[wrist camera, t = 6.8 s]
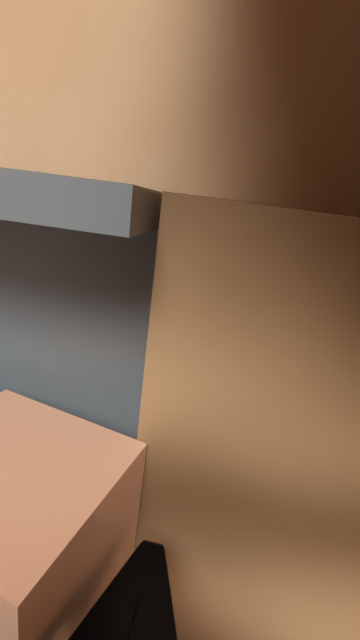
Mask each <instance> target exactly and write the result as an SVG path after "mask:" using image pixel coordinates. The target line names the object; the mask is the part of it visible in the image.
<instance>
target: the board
mask: <svg viewBox="0 0 360 640" xmlns="http://www.w3.org/2000/svg"><path fill="white" fill-rule="evenodd" d="M137 440H139V441H141V442H144V443H146V444H147V448H146V457H145V465H144V474H143V482H142V490H141V499H140V507H139V516H138V524H137V533H136V541H135V549H136V548H137V547H138V545H139V544H140V543H141V542H142V541H143V540H148V541H152V542H156V543H160V544H163V545H164V547H165V554H166V561H167V568H168V575H169V582H170V589H171V596H172V603H173V610H174V617H175V624H176V631H177V638H178V640H360V217H355V216H347V215H340V214H332V213H324V212H317V211H309V210H301V209H294V208H286V207H278V206H271V205H263V204H256V203H248V202H240V201H233V200H225V199H217V198H210V197H202V196H194V195H187V194H179V193H171V192H164V191H163V192H162V202H161V212H160V221H159V231H158V241H157V250H156V260H155V270H154V280H153V289H152V299H151V309H150V318H149V328H148V338H147V347H146V357H145V367H144V376H143V386H142V396H141V405H140V415H139V425H138V434H137ZM135 549H134V551H135Z"/></svg>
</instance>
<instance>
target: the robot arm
mask: <svg viewBox="0 0 360 640" xmlns="http://www.w3.org/2000/svg"><path fill="white" fill-rule="evenodd" d="M68 640H178V638H177V631H176V624H175V617H174V610H173V603H172V596H171V589H170V582H169V575H168V568H167V561H166V554H165V547H164V545H163V544H160V543H156V542H152V541H148V540H143V541H142V542H141V543H140V544H139V545H138V547H137V548H136V549H135V551H134V552H133V553H132V555H131V556H130V557H129V559H128V560H127V561H126V563H125V564H124V565H123V567H122V568H121V569H120V571H119V572H118V573H117V575H116V576H115V577H114V579H113V580H112V581H111V583H110V584H109V585H108V587H107V588H106V589H105V591H104V592H103V593H102V595H101V596H100V597H99V599H98V600H97V601H96V603H95V604H94V605H93V607H92V608H91V609H90V611H89V612H88V613H87V615H86V616H85V617H84V619H83V620H82V621H81V623H80V624H79V625H78V627H77V628H76V629H75V631H74V632H73V633H72V635H71V636H70V637H69V639H68Z"/></svg>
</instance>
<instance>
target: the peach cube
mask: <svg viewBox="0 0 360 640" xmlns="http://www.w3.org/2000/svg"><path fill="white" fill-rule="evenodd" d="M146 448H147V444H146V443H144V442H141V441H139V440H136V439H133V438H131V437H128V436H126V435H123V434H120V433H118V432H115V431H113V430H110V429H107V428H105V427H102V426H100V425H97V424H95V423H92V422H89V421H87V420H84V419H82V418H79V417H76V416H74V415H71V414H69V413H66V412H63V411H61V410H58V409H56V408H53V407H50V406H48V405H45V404H43V403H40V402H37V401H35V400H32V399H30V398H27V397H25V396H22V395H19V394H17V393H14V392H12V391H9V390H4V391H2V392H0V640H68V639H69V637H70V636H71V635H72V633H73V632H74V631H75V629H76V628H77V627H78V625H79V624H80V623H81V621H82V620H83V619H84V617H85V616H86V615H87V613H88V612H89V611H90V609H91V608H92V607H93V605H94V604H95V603H96V601H97V600H98V599H99V597H100V596H101V595H102V593H103V592H104V591H105V589H106V588H107V587H108V585H109V584H110V583H111V581H112V580H113V579H114V577H115V576H116V575H117V573H118V572H119V571H120V569H121V568H122V567H123V565H124V564H125V563H126V561H127V560H128V559H129V557H130V556H131V555H132V553H133V552H134V549H135V541H136V533H137V524H138V516H139V507H140V499H141V490H142V482H143V474H144V465H145V457H146Z"/></svg>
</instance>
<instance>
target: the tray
mask: <svg viewBox="0 0 360 640" xmlns="http://www.w3.org/2000/svg"><path fill="white" fill-rule="evenodd" d="M161 202H162V193H161V192H158V191H154V190H151V189H147V188H143V187H140V186H136V185H132V184H124V183H117V182H109V181H101V180H93V179H86V178H78V177H70V176H63V175H55V174H47V173H40V172H32V171H24V170H16V169H9V168H1V167H0V392H2V391H4V390H9V391H12V392H14V393H17V394H19V395H22V396H25V397H27V398H30V399H32V400H35V401H37V402H40V403H43V404H45V405H48V406H50V407H53V408H56V409H58V410H61V411H63V412H66V413H69V414H71V415H74V416H76V417H79V418H82V419H84V420H87V421H89V422H92V423H95V424H97V425H100V426H102V427H105V428H107V429H110V430H113V431H115V432H118V433H120V434H123V435H126V436H128V437H131V438H133V439H136V440H137V434H138V425H139V415H140V405H141V396H142V386H143V376H144V367H145V357H146V347H147V338H148V328H149V318H150V309H151V299H152V289H153V280H154V270H155V260H156V250H157V241H158V231H159V221H160V212H161Z"/></svg>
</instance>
